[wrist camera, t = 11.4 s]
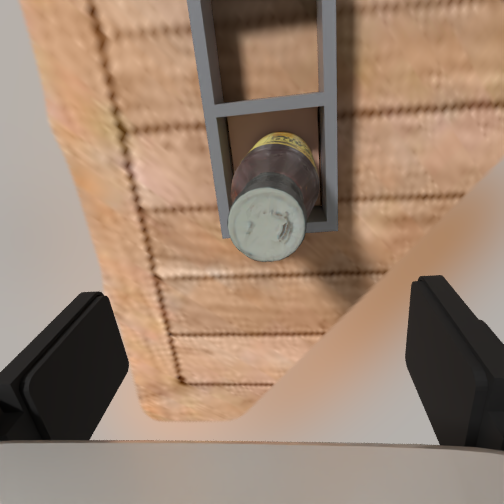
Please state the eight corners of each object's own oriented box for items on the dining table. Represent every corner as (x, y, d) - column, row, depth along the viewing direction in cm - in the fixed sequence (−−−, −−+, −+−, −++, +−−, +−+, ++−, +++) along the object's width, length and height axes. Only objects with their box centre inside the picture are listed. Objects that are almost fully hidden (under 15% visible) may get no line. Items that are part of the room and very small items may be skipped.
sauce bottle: (325, 162, 36) (366, 238, 18) (279, 204, 38) (273, 309, 20) (280, 112, 34) (275, 139, 16) (234, 158, 36) (185, 228, 18)
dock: (327, -59, 29) (335, -87, 24) (331, 213, 38) (338, 230, 33) (194, -38, 30) (177, -60, 26) (229, 221, 39) (222, 238, 35)
